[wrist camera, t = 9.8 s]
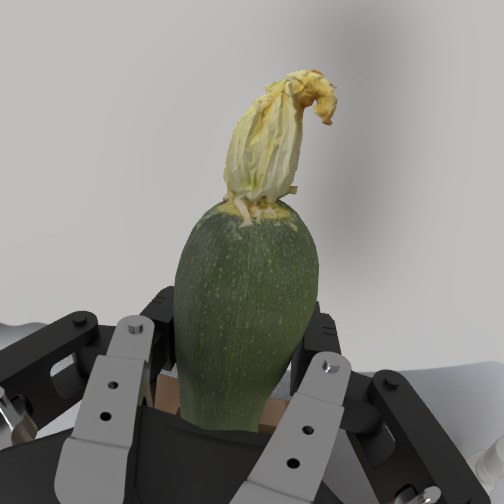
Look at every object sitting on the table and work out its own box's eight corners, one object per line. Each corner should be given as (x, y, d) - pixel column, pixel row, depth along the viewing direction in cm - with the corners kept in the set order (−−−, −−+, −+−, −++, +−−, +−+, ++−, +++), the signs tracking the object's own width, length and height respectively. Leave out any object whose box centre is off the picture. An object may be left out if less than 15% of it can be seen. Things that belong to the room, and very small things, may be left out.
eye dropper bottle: (381, 512, 13) (481, 425, 8) (433, 491, 13) (525, 398, 9) (396, 552, 9) (517, 481, 4) (449, 525, 9) (556, 439, 5)
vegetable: (171, 466, 13) (168, 63, 7) (225, 438, 16) (271, 91, 10) (215, 516, 11) (282, 23, 4) (270, 480, 13) (380, 91, 7)
